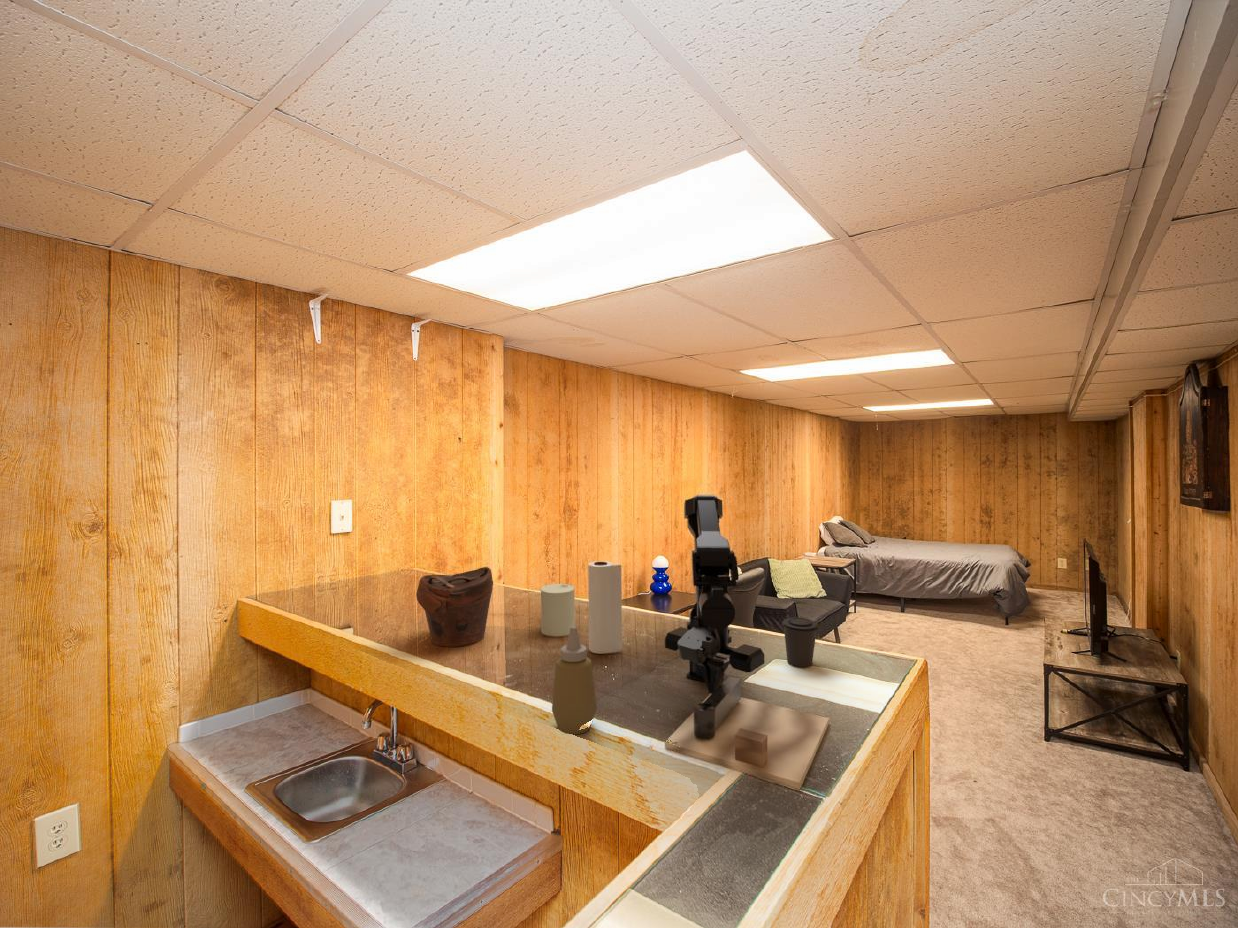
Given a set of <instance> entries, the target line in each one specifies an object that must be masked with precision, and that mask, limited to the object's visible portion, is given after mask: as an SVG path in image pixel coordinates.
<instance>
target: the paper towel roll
mask: <svg viewBox="0 0 1238 928" xmlns="http://www.w3.org/2000/svg"><path fill="white" fill-rule="evenodd" d="M587 567H588V569H587V570H588V573H587V574H588V578H587V579H588V580H587V581H588V589H587V590H588V649H589V652H590V653H593V654H599V655H601V654H602V655H603V654H611V653H616V652H622V651H623V638H622V637H623V631H622V628H623V627H622V626H623V624H622V623H623V620H622V619H623V615H622V613H623V612H622V611H623V609H622V608H623V607H622V605H623V604H622V593H623V592H622V588H623V587H622V564H616V565H614V563H613V562H612V561H604V560H601V561H599V560H596V561H592V562H589V563H588V566H587Z"/></svg>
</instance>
